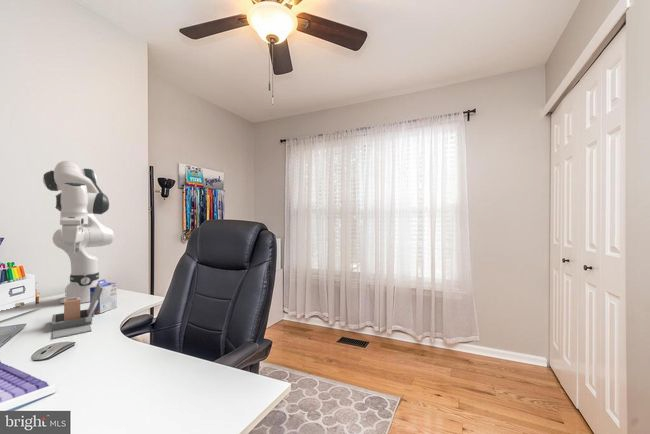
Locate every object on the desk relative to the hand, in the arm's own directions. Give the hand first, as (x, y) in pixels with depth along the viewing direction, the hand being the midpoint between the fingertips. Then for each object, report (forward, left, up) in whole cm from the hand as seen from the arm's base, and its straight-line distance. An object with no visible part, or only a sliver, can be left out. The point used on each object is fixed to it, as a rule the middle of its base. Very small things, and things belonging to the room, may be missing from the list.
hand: (74, 253), depth 120 cm
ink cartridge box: (-11, +11, -30) cm, 33 cm away
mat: (+13, 0, -29) cm, 32 cm away
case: (+2, +1, -29) cm, 29 cm away
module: (+1, 0, -29) cm, 29 cm away
